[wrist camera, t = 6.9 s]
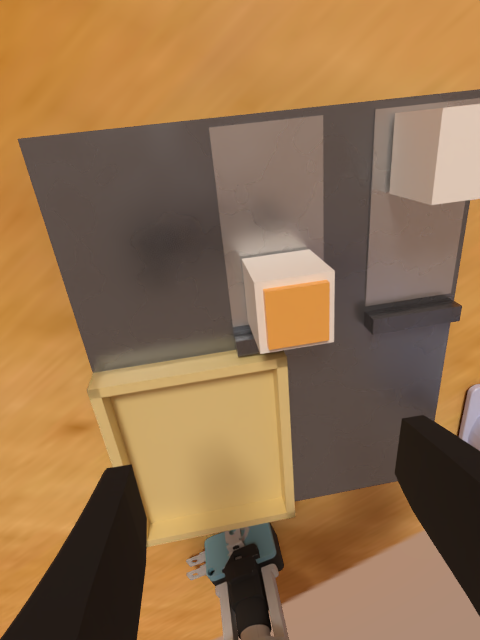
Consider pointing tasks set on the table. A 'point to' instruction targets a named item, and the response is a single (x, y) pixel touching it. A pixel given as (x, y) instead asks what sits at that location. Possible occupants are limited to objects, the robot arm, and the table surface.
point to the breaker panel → (259, 240)
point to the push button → (245, 581)
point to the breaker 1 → (289, 300)
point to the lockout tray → (201, 440)
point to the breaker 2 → (437, 155)
